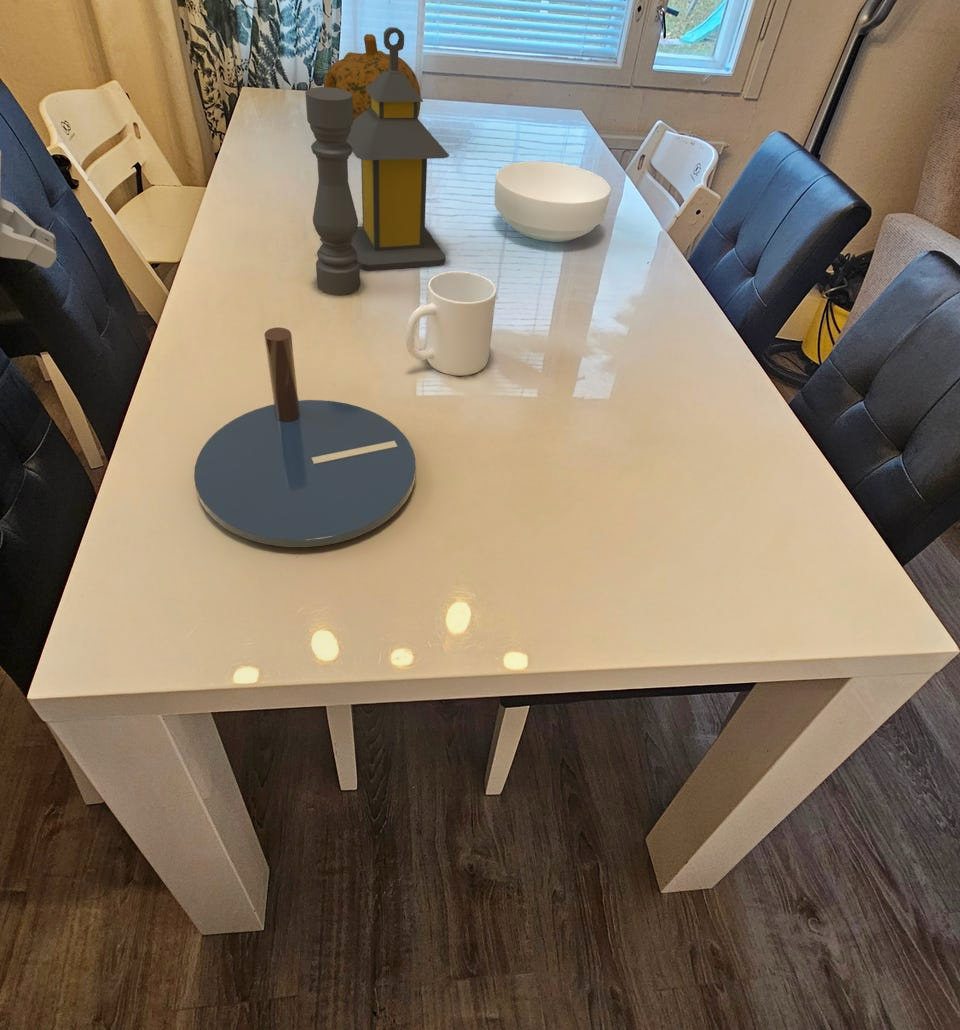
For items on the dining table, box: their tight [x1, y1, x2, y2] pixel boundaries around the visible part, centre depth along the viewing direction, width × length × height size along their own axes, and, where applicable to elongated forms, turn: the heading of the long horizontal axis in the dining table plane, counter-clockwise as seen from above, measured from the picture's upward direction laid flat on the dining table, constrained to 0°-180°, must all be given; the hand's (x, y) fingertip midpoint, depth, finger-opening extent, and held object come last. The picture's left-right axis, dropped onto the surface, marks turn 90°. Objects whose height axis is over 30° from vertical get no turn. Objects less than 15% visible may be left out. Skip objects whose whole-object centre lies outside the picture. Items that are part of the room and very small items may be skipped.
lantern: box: [347, 26, 450, 272], centre depth 104 cm, size 14×14×30 cm
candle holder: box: [304, 86, 361, 296], centre depth 95 cm, size 6×6×25 cm
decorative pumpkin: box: [323, 33, 422, 120], centre depth 145 cm, size 20×21×20 cm
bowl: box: [493, 160, 612, 243], centre depth 122 cm, size 20×20×8 cm
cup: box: [405, 270, 497, 377], centre depth 88 cm, size 8×12×10 cm
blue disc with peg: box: [193, 326, 417, 548], centre depth 69 cm, size 22×22×11 cm
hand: (53, 253), depth 61 cm, fingers closed
